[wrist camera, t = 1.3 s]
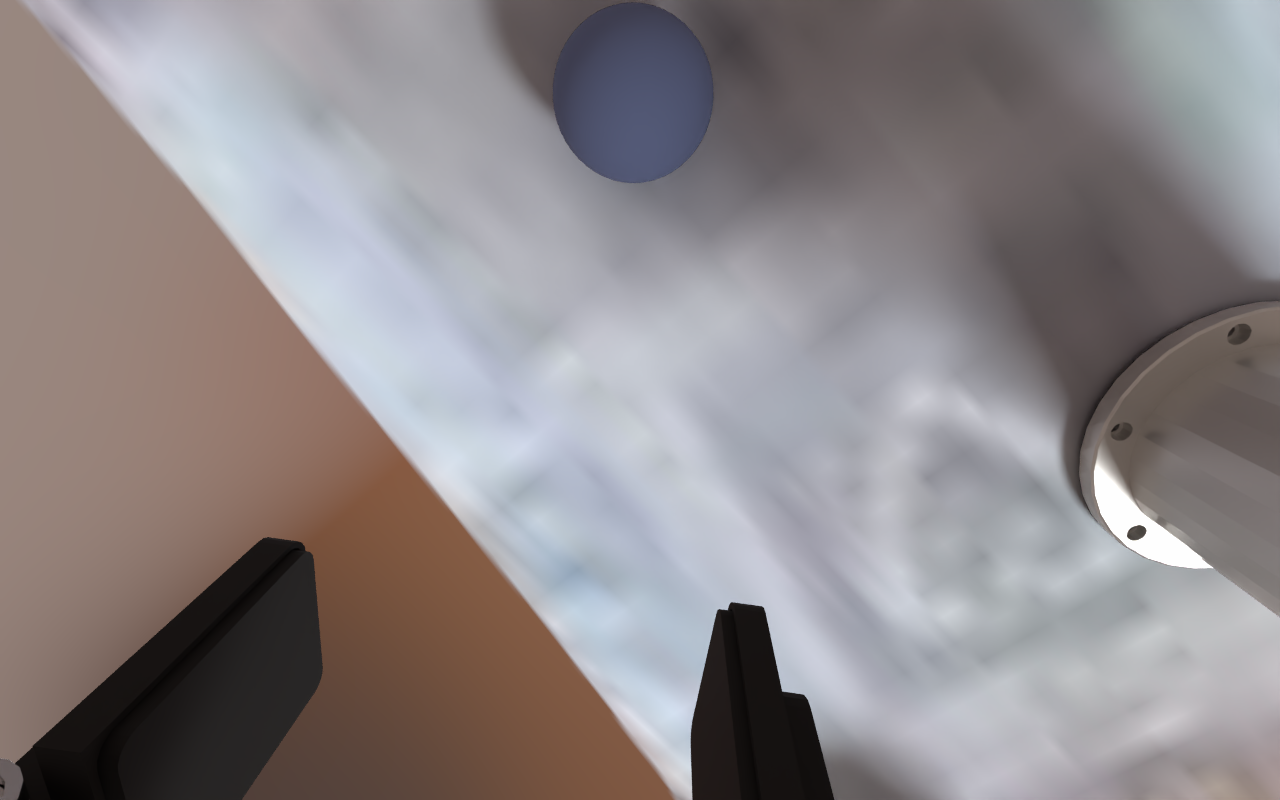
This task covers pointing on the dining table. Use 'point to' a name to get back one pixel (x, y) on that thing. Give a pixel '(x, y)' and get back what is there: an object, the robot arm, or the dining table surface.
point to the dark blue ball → (633, 92)
